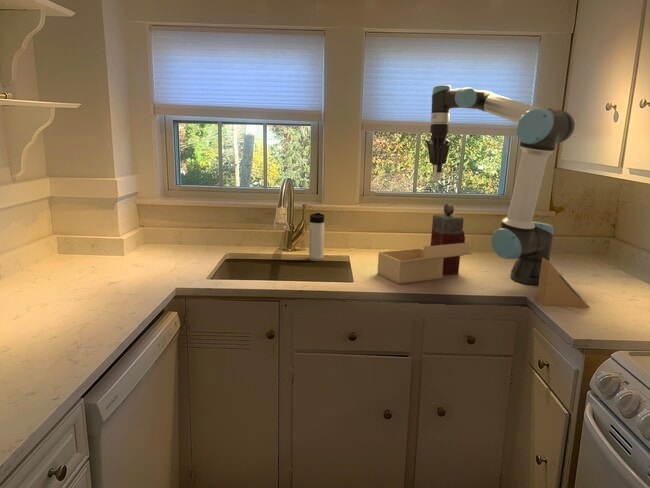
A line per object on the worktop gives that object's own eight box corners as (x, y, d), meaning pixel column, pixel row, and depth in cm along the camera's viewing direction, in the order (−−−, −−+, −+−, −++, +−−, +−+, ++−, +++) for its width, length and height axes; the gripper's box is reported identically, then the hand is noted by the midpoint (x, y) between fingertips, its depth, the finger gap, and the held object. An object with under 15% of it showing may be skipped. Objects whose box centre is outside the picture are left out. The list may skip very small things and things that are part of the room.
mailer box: (377, 274, 196) (378, 252, 194) (418, 269, 205) (420, 248, 203) (398, 284, 183) (400, 261, 181) (441, 279, 192) (443, 256, 190)
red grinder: (463, 274, 200) (470, 205, 194) (438, 275, 197) (444, 205, 190) (452, 268, 208) (458, 202, 202) (428, 269, 205) (433, 202, 199)
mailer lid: (423, 246, 168) (424, 258, 167) (469, 242, 176) (471, 253, 176) (398, 251, 181) (400, 262, 181) (443, 246, 190) (444, 257, 190)
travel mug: (323, 257, 218) (325, 213, 214) (322, 261, 212) (323, 215, 208) (309, 257, 219) (311, 212, 214) (307, 260, 213) (309, 215, 208)
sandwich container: (592, 309, 164) (599, 266, 160) (543, 306, 166) (549, 263, 162) (582, 301, 172) (588, 259, 169) (536, 298, 174) (542, 256, 170)
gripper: (422, 124, 211) (419, 179, 216) (444, 122, 200) (440, 181, 205) (435, 124, 215) (432, 179, 220) (457, 123, 204) (454, 181, 209)
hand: (436, 180), depth 212 cm, fingers closed
